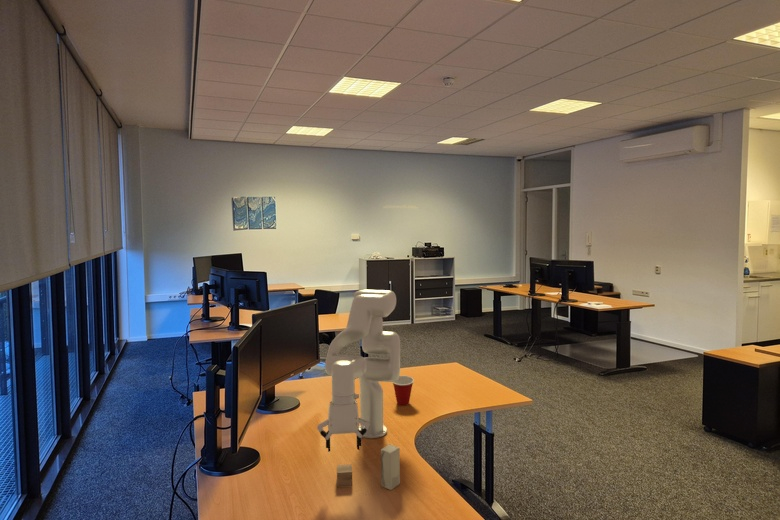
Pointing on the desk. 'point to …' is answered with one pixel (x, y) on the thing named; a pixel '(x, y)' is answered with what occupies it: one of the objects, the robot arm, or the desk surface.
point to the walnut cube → (344, 475)
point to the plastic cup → (403, 389)
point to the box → (390, 466)
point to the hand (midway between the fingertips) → (343, 448)
